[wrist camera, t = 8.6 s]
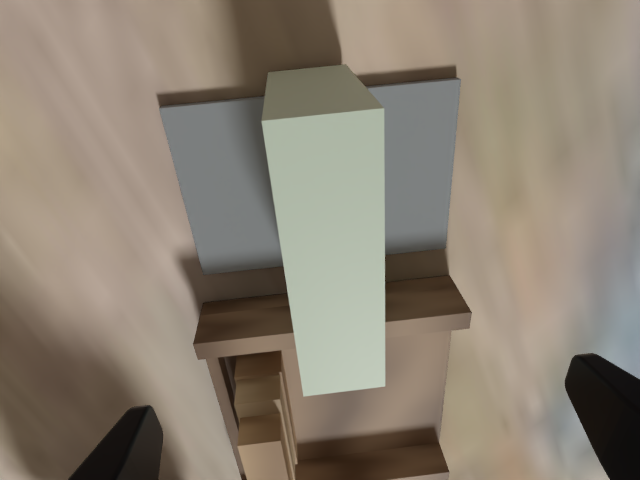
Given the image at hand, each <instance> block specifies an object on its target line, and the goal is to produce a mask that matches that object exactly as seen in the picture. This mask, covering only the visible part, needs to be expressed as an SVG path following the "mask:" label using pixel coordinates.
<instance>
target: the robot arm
mask: <svg viewBox="0 0 640 480" xmlns="http://www.w3.org/2000/svg"><path fill="white" fill-rule="evenodd" d="M565 388H566V391H567V394H568V396H569V398H570V400H571V402H572V404H573V407H574V409H575V411H576V413H577V415H578V417H579V419H580V422H581V424H582V426H583V428H584V430H585V432H586V434H587V436H588V439H589V441H590V443H591V445H592V447H593V449H594V451H595V453H596V455H597V457H598V459H599V461H600V463H601V465H602V467H603V468H604V470H605V472H606V474H607V475H608V477H609V479H610V480H640V379H638V378H636V377H635V376H633V375H631V374H629V373H628V372H626V371H624V370H623V369H621V368H619V367H618V366H616V365H614V364H613V363H611V362H609V361H607V360H606V359H604V358H602V357H601V356H599V355H597V354H593V353H588V354H579V355H575V356H574V357H573V358H572V360H571V363H570V366H569V369H568V372H567V375H566V378H565ZM162 443H163V431H162V428H161V425H160V423H159V421H158V418H157V416H156V414H155V411H154V409H153V407H151V406H150V405H144V406H136V407H132V408H130V409H129V410H128V411H127V412H126V413H125V414H124V415H123V416H122V417H121V419H120V420H119V421H118V422H117V423H116V424H115V426H114V427H113V428H112V429H111V430H110V431H109V433H108V434H107V435H106V436H105V437H104V438H103V440H102V441H101V442H100V443H99V444H98V445H97V446H96V448H95V449H94V450H93V451H92V452H91V453H90V455H89V456H88V457H87V458H86V459H85V460H84V462H83V463H82V464H81V465H80V466H79V467H78V468H77V470H76V471H75V472H74V473H73V474H72V475H71V477H70V478H69V479H68V480H158V476H159V468H160V460H161V452H162Z"/></svg>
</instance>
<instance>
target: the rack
mask: <svg viewBox="0 0 640 480" xmlns="http://www.w3.org/2000/svg"><path fill="white" fill-rule="evenodd" d="M471 313H472V312H471V311H470V309H469V307H468V305H467V304H466V302H465V300H464V299H463V297H462V295H461V294H460V292H459V290H458V289H457V287H456V285H455V284H454V282H453V280H452V279H451V277H450V275H448V276H439V277H431V278H422V279H413V280H404V281H395V282H386V283H385V387H377V388H369V389H361V390H353V391H345V392H337V393H329V394H320V395H312V396H304V397H303V390H302V384H301V377H300V370H299V364H298V357H297V351H296V344H295V338H294V331H293V325H292V318H291V311H290V305H289V298H288V293H287V294H278V295H269V296H260V297H251V298H242V299H233V300H224V301H215V302H206V303H203V306H202V310H201V314H200V318H199V322H198V326H197V331H196V335H195V339H194V343H193V345H194V349H195V352H196V355H197V358H198V360H200V359H206V362H207V365H208V368H209V372H210V375H211V378H212V382H213V385H214V388H215V392H216V395H217V398H218V402H219V405H220V408H221V412H222V415H223V418H224V422H225V425H226V428H227V432H228V435H229V438H230V442H231V445H232V448H233V452H234V455H235V458H236V462H237V465H238V468H239V472H240V475H241V478H242V480H247V478H246V474H245V471H244V468H243V464H242V461H241V457H240V454H239V450H238V447H237V444H238V433H239V420H238V417H237V413H236V409H235V406H234V402H235V393H236V382H235V379H234V375H235V367H236V358H237V355H246V354H255V353H263V352H272V351H282V357H283V363H284V369H285V375H286V381H287V387H288V392H289V398H290V404H291V410H292V416H293V422H294V428H295V434H296V440H297V460H298V464H295V480H448V478H449V470H448V467H447V464H446V461H445V458H444V456H443V453H442V450H441V447H440V444H439V439H440V430H441V421H442V412H443V403H444V394H445V385H446V376H447V367H448V358H449V349H450V340H451V331H452V330H460V329H468V328H470V320H471Z"/></svg>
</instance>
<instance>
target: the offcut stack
mask: <svg viewBox="0 0 640 480" xmlns="http://www.w3.org/2000/svg"><path fill="white" fill-rule="evenodd" d="M234 379H235V382H236V393H235V402H234V406H235V409H236V413H237V417H238V420H239V433H238V444H237V447H238V450H239V454H240V457H241V461H242V464H243V468H244V471H245V474H246V478H247V480H295V464H298V460H297V440H296V434H295V428H294V422H293V416H292V410H291V404H290V398H289V392H288V387H287V381H286V375H285V369H284V363H283V357H282V351H272V352H263V353H255V354H246V355H237V358H236V367H235V375H234Z"/></svg>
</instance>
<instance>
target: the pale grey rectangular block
mask: <svg viewBox="0 0 640 480" xmlns="http://www.w3.org/2000/svg"><path fill="white" fill-rule="evenodd" d="M262 128H263V134H264V141H265V147H266V154H267V160H268V167H269V173H270V180H271V187H272V193H273V200H274V206H275V213H276V219H277V226H278V233H279V239H280V246H281V252H282V259H283V265H284V272H285V279H286V285H287V292H288V298H289V305H290V311H291V318H292V325H293V331H294V338H295V344H296V351H297V357H298V364H299V370H300V377H301V384H302V390H303V397H304V396H312V395H320V394H329V393H337V392H345V391H353V390H361V389H369V388H377V387H385V162H384V107H383V106H382V105H381V104H380V103H379V102H378V100H377V99H376V98H375V97H374V96H373V95H372V94H371V92H370V91H369V90H368V89H367V88H366V87H365V86H364V85H363V83H362V82H361V81H360V80H359V79H358V78H357V77H356V75H355V74H354V73H353V72H352V71H351V70H350V69H349V67H348V66H347V65H346V64H345V65H335V66H325V67H315V68H305V69H295V70H285V71H275V72H268V76H267V84H266V91H265V99H264V106H263V113H262Z"/></svg>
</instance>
